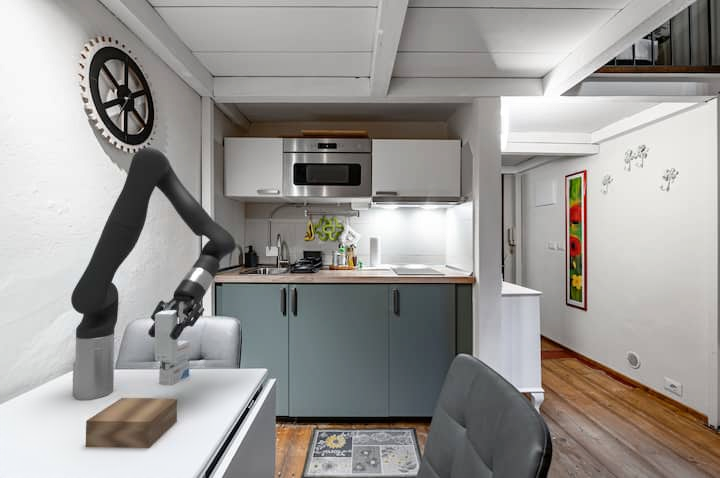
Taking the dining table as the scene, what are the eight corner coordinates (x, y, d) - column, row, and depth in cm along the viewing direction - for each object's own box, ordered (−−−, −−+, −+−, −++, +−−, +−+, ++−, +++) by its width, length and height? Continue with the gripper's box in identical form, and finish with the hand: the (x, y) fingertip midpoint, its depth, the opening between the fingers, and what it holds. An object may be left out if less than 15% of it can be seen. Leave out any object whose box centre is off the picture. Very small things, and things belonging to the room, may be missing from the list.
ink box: (177, 374, 125) (177, 339, 125) (190, 375, 124) (190, 340, 124) (158, 384, 116) (159, 346, 116) (172, 385, 115) (173, 347, 115)
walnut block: (85, 448, 81) (86, 420, 81) (121, 421, 93) (122, 397, 93) (149, 449, 81) (149, 421, 81) (176, 422, 93) (177, 398, 93)
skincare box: (172, 360, 96) (173, 313, 96) (153, 361, 95) (154, 314, 95) (178, 353, 102) (179, 309, 102) (160, 354, 101) (161, 309, 101)
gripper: (167, 277, 107) (131, 327, 96) (209, 279, 104) (177, 331, 92) (180, 293, 113) (147, 342, 101) (220, 295, 109) (191, 347, 97)
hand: (161, 336), depth 97 cm, fingers closed on skincare box, 6 cm apart
